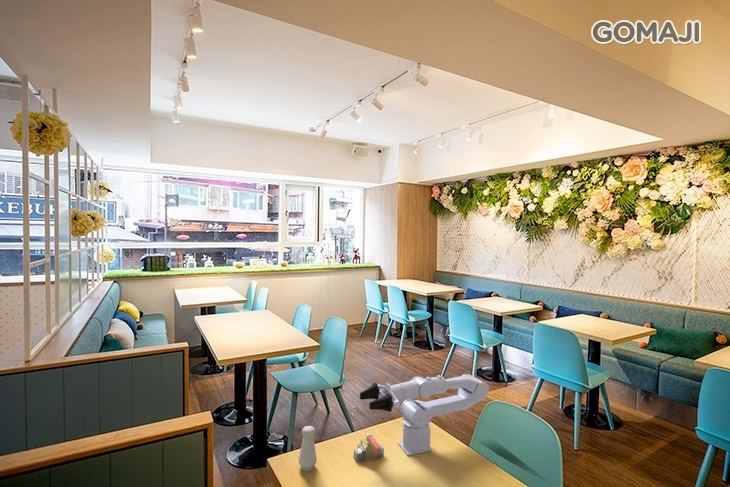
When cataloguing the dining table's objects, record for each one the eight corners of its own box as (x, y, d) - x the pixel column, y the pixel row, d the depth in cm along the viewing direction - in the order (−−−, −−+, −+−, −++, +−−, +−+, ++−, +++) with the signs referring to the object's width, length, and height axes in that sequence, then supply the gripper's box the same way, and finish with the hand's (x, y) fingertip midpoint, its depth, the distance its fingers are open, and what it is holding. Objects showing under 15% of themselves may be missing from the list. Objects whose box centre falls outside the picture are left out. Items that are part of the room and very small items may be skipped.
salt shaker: (312, 474, 114) (313, 434, 113) (295, 471, 115) (296, 431, 115) (318, 463, 120) (319, 424, 119) (302, 460, 121) (303, 422, 120)
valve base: (379, 450, 128) (380, 434, 128) (384, 457, 124) (385, 441, 123) (352, 455, 124) (353, 439, 124) (357, 463, 120) (357, 446, 120)
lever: (365, 438, 124) (365, 433, 124) (370, 437, 125) (371, 432, 125) (375, 453, 116) (375, 448, 116) (381, 452, 117) (381, 447, 117)
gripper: (389, 373, 133) (356, 381, 127) (410, 389, 120) (374, 398, 114) (390, 392, 134) (356, 400, 128) (411, 410, 120) (374, 420, 115)
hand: (364, 401), depth 121 cm, fingers open, 7 cm apart
